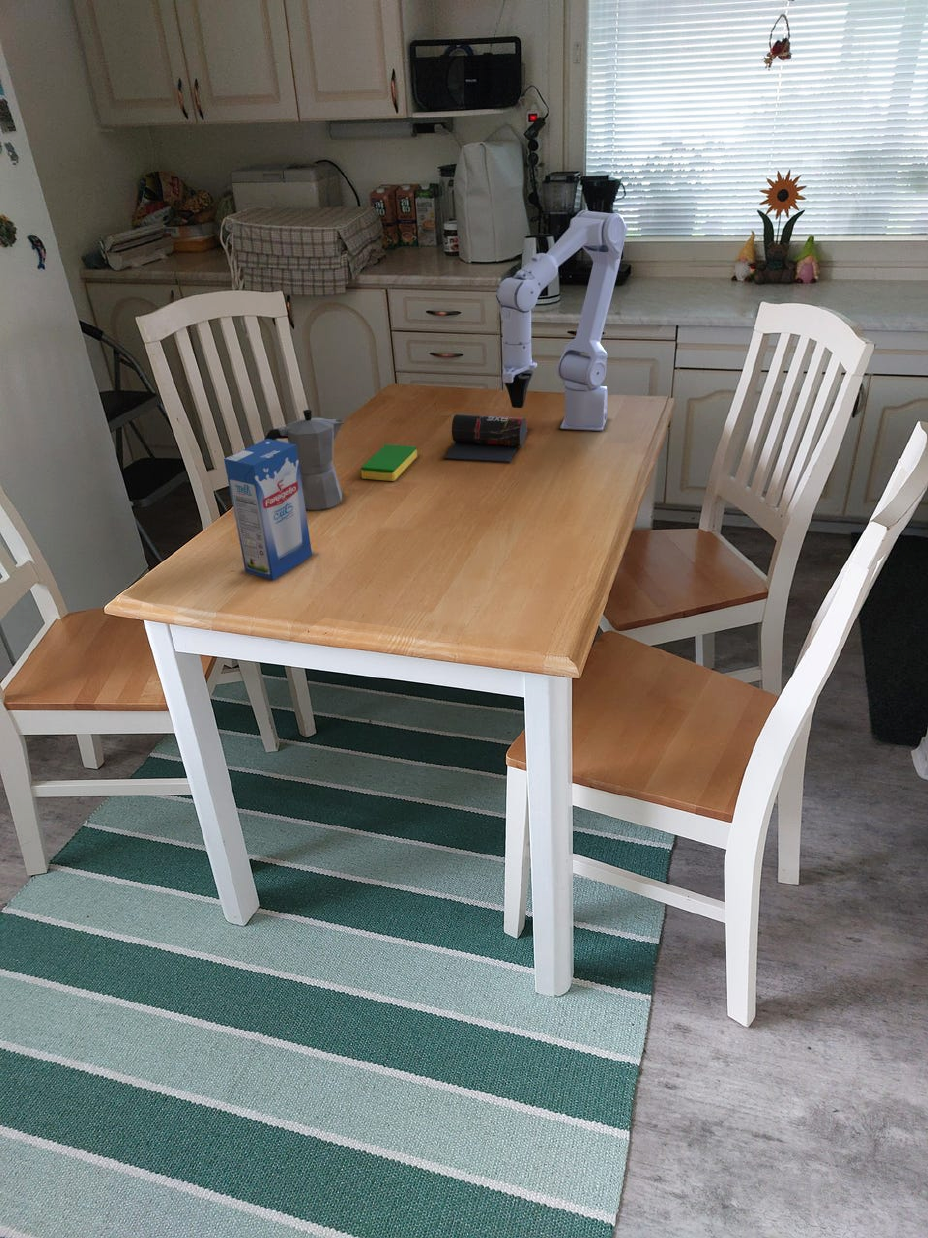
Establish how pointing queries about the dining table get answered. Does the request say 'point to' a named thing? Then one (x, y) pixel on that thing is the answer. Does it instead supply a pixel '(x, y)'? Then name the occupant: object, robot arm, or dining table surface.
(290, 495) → the milk carton
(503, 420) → the deodorant
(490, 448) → the mat
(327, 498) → the coffeepot
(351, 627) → the dining table surface
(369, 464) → the dish sponge
